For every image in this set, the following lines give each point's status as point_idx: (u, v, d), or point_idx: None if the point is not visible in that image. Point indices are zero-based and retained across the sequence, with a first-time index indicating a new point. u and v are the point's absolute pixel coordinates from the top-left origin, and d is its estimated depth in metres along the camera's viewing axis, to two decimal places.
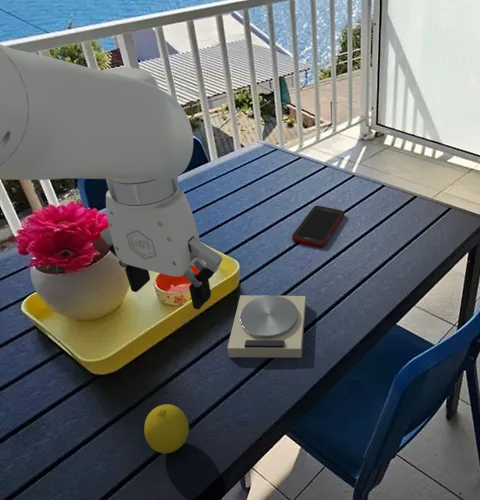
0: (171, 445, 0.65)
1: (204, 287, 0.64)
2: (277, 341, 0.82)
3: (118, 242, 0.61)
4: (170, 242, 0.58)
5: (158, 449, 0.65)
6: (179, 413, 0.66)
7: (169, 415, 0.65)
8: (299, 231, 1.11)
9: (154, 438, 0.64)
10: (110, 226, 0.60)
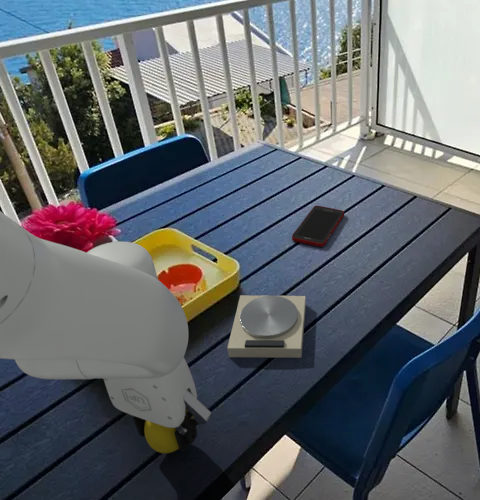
0: (171, 445, 0.65)
1: (190, 431, 0.65)
2: (277, 341, 0.82)
3: (113, 393, 0.60)
4: (165, 401, 0.57)
5: (159, 449, 0.65)
6: None
7: None
8: (299, 231, 1.11)
9: (155, 438, 0.64)
10: (105, 380, 0.59)
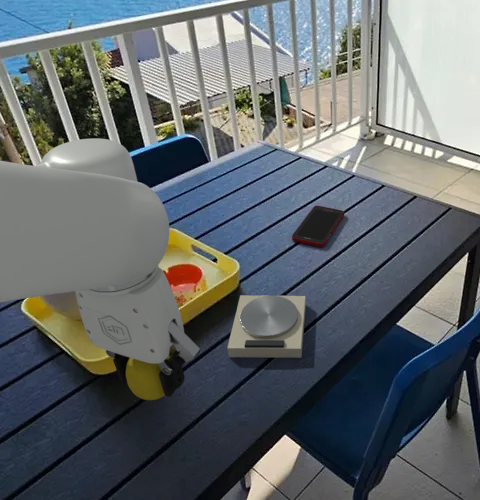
0: (155, 389, 0.58)
1: (176, 373, 0.58)
2: (277, 341, 0.82)
3: (89, 325, 0.54)
4: (147, 329, 0.51)
5: (141, 394, 0.58)
6: None
7: None
8: (299, 231, 1.11)
9: (137, 380, 0.57)
10: (80, 308, 0.53)
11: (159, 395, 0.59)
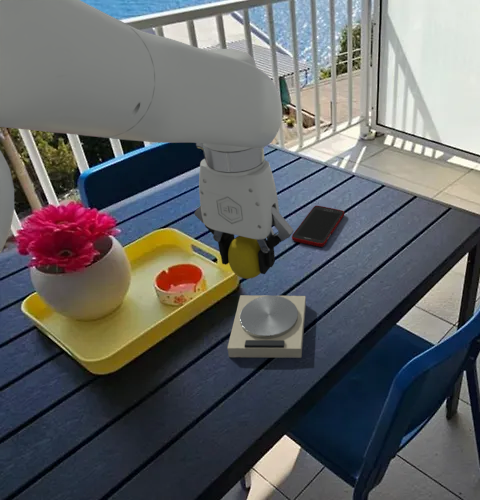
0: (253, 266, 0.72)
1: (270, 253, 0.72)
2: (277, 341, 0.82)
3: (207, 208, 0.68)
4: (258, 207, 0.65)
5: (242, 271, 0.72)
6: None
7: (252, 239, 0.72)
8: (299, 231, 1.11)
9: (240, 258, 0.71)
10: (201, 193, 0.67)
11: (255, 273, 0.73)
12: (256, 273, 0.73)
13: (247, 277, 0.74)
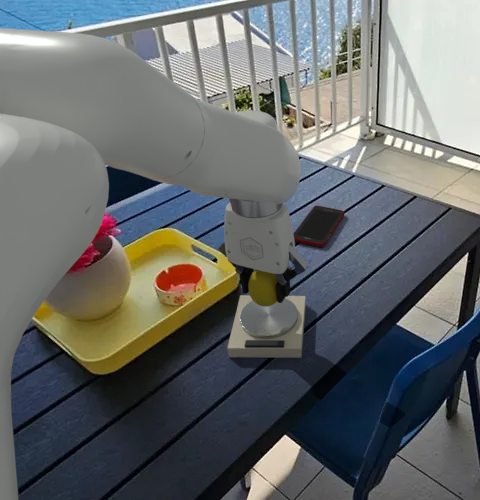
0: (271, 296, 0.80)
1: (287, 285, 0.80)
2: (277, 341, 0.82)
3: (231, 246, 0.75)
4: (277, 246, 0.72)
5: (261, 300, 0.80)
6: None
7: None
8: (299, 231, 1.11)
9: (259, 289, 0.79)
10: (226, 233, 0.75)
11: (272, 302, 0.81)
12: (273, 302, 0.81)
13: (265, 305, 0.82)
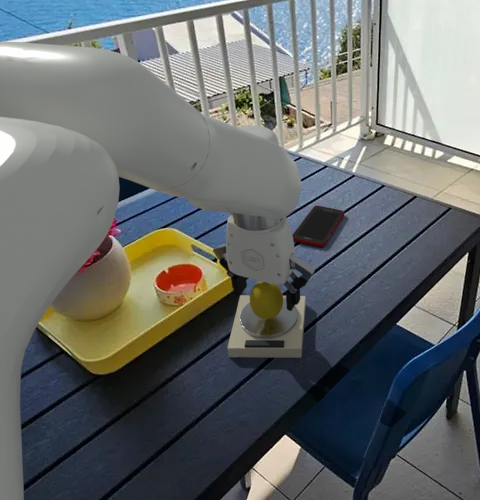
0: (272, 310, 0.82)
1: (297, 293, 0.80)
2: (277, 341, 0.82)
3: (232, 257, 0.77)
4: (278, 258, 0.74)
5: (262, 313, 0.82)
6: (278, 286, 0.83)
7: (271, 286, 0.81)
8: (299, 231, 1.11)
9: (260, 303, 0.81)
10: (228, 245, 0.76)
11: (273, 315, 0.83)
12: (274, 315, 0.83)
13: (266, 318, 0.83)
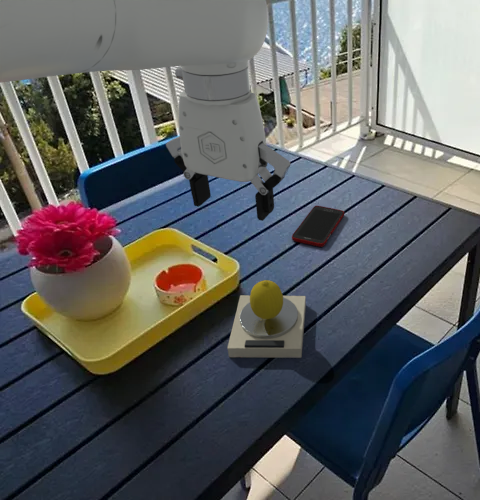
0: (272, 310, 0.82)
1: (269, 197, 0.65)
2: (277, 341, 0.82)
3: (187, 147, 0.61)
4: (243, 142, 0.58)
5: (262, 313, 0.82)
6: (278, 286, 0.83)
7: (271, 286, 0.81)
8: (299, 231, 1.11)
9: (260, 303, 0.81)
10: (181, 130, 0.60)
11: (273, 315, 0.83)
12: (274, 315, 0.83)
13: (266, 318, 0.83)
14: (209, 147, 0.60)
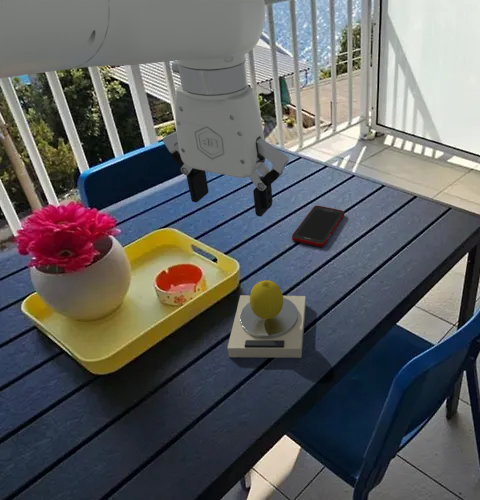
0: (272, 310, 0.82)
1: (267, 192, 0.64)
2: (277, 341, 0.82)
3: (184, 142, 0.61)
4: (240, 137, 0.58)
5: (262, 313, 0.82)
6: (278, 286, 0.83)
7: (271, 286, 0.81)
8: (299, 231, 1.11)
9: (260, 303, 0.81)
10: (178, 125, 0.60)
11: (273, 315, 0.83)
12: (274, 315, 0.83)
13: (266, 318, 0.83)
14: (206, 142, 0.60)
